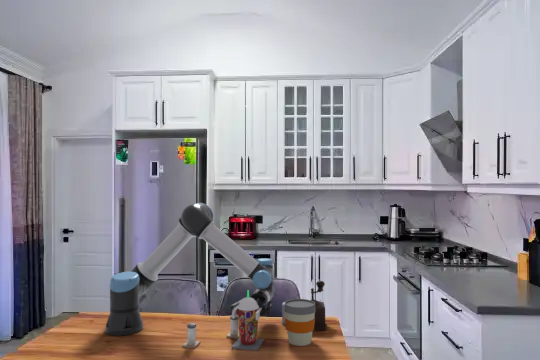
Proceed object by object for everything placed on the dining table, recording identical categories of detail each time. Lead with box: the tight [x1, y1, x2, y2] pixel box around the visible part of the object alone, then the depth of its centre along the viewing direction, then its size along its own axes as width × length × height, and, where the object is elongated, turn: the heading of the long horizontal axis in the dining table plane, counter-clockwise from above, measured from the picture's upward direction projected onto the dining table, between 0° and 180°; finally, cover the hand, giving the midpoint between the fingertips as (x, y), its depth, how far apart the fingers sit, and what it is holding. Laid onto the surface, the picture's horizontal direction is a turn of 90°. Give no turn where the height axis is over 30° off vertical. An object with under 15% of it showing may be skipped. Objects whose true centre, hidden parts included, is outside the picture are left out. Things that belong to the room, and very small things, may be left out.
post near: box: [182, 322, 201, 349], centre depth 156 cm, size 5×5×8 cm
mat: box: [231, 338, 265, 351], centre depth 157 cm, size 10×10×1 cm
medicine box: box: [281, 301, 286, 325], centre depth 182 cm, size 8×4×9 cm, turn 84°
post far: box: [226, 314, 239, 340], centre depth 166 cm, size 5×5×8 cm
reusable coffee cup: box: [284, 298, 316, 347], centre depth 160 cm, size 13×13×15 cm
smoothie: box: [237, 289, 259, 345], centre depth 157 cm, size 8×8×20 cm
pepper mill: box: [310, 280, 327, 331], centre depth 180 cm, size 16×11×18 cm
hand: (244, 315), depth 152 cm, fingers open, 8 cm apart
